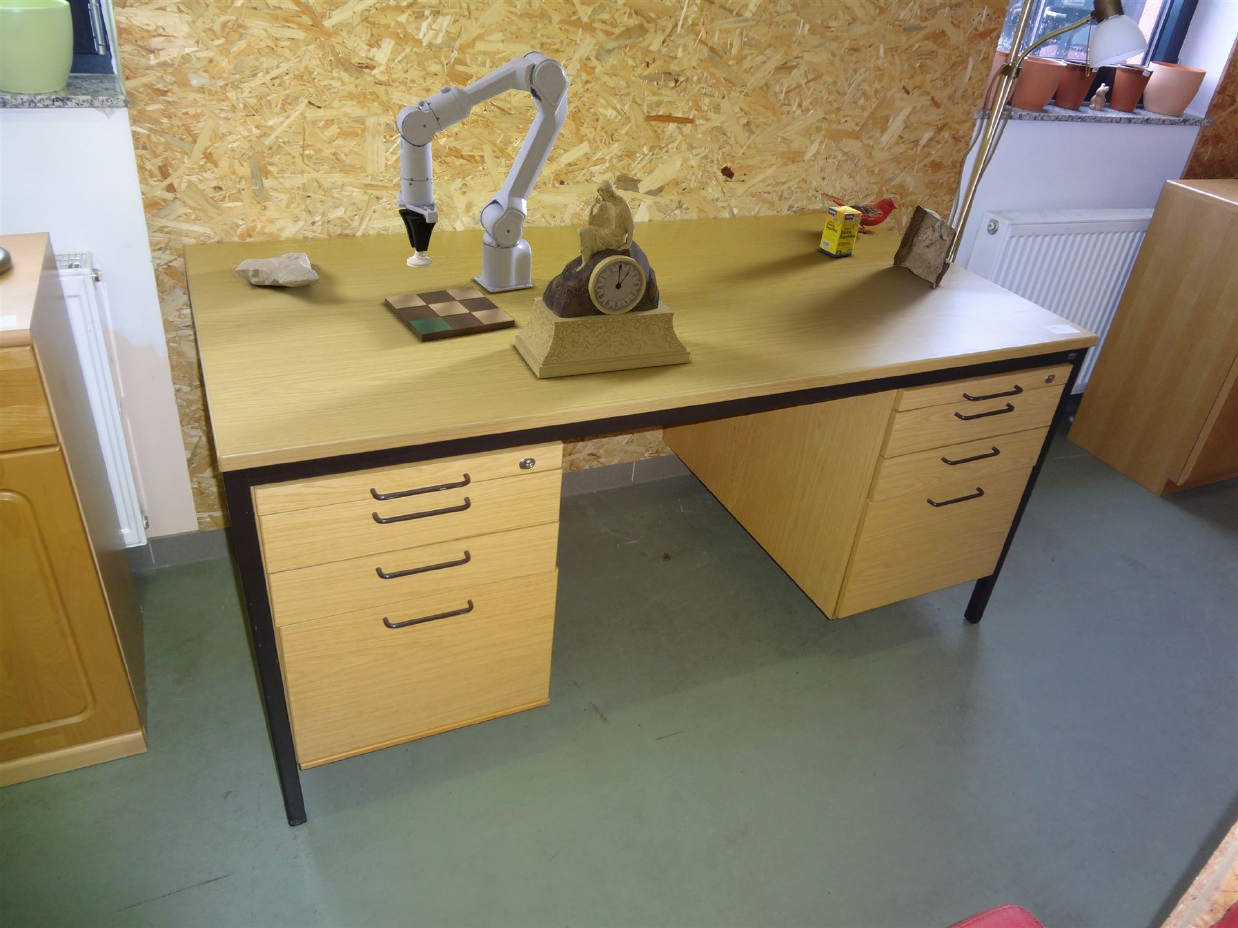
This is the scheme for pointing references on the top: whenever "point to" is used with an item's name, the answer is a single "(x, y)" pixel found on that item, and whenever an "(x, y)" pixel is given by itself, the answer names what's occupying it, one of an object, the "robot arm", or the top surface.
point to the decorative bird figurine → (873, 212)
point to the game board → (448, 313)
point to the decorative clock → (601, 304)
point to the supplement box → (840, 231)
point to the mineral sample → (926, 245)
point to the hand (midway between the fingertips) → (419, 249)
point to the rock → (279, 271)
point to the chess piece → (419, 260)
